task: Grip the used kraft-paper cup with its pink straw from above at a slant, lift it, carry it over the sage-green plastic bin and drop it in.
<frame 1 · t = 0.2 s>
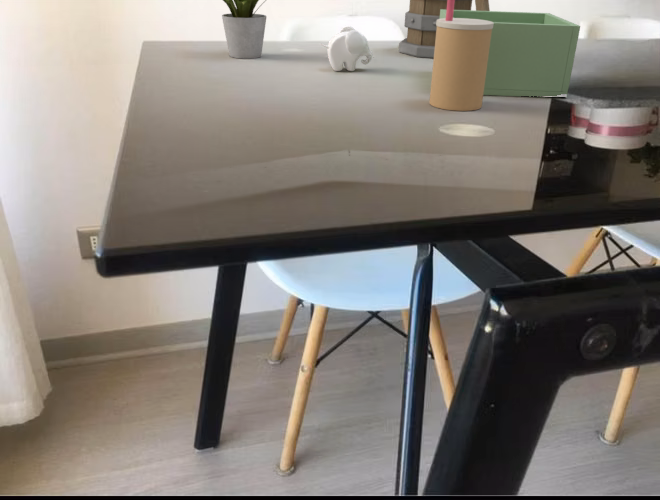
bin: (494, 83, 88), on the table
elephant figurine: (346, 71, 94), on the table
straw cup: (455, 104, 76), on the table
house plant: (250, 58, 102), on the table
tankard: (449, 57, 109), on the table
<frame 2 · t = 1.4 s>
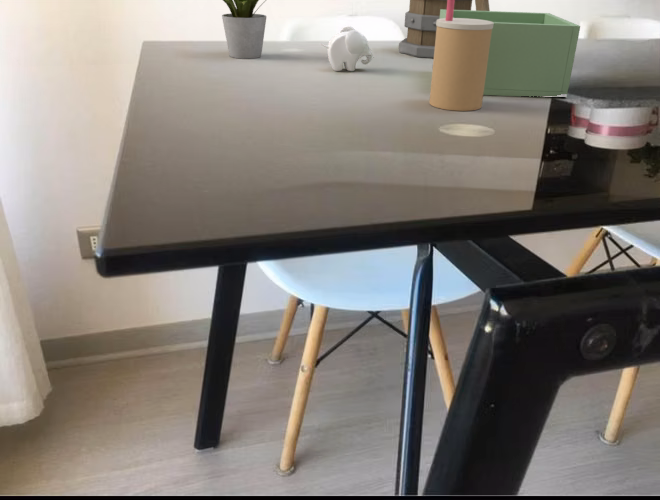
nothing on the table moved.
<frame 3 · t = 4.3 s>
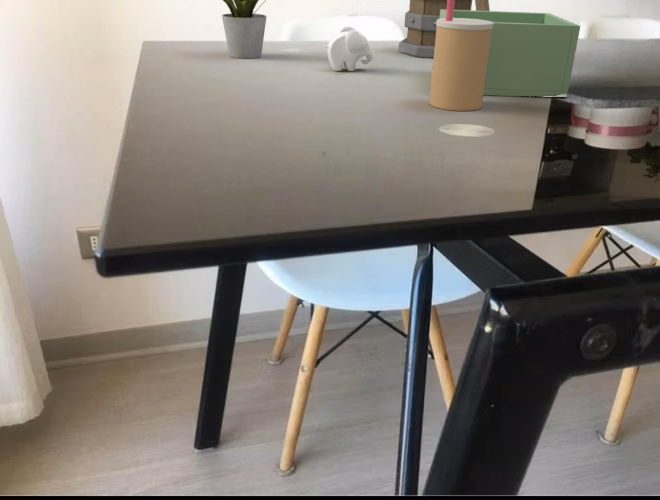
nothing on the table moved.
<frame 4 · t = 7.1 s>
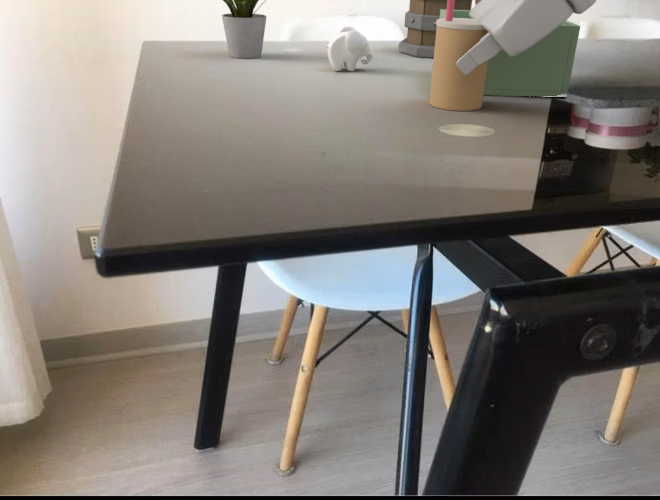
hand: (454, 62, 73), 5 cm above the table, tool tilted 45°, fingers open, 7 cm apart
nothing on the table moved.
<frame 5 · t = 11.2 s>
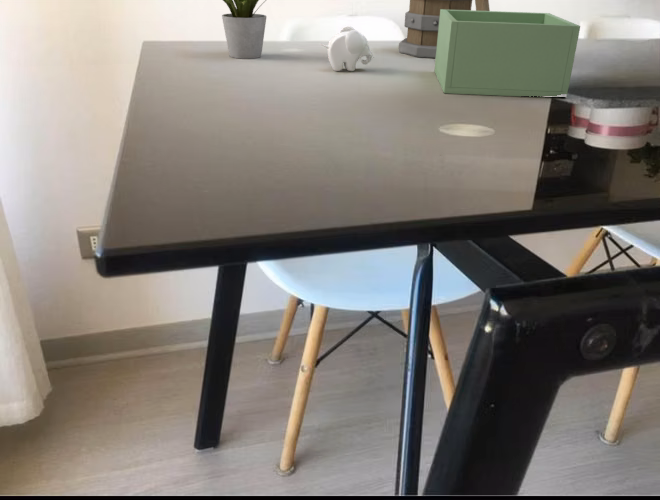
when the fingers open (11 cm above the table, at t = 15.2 s): straw cup drops 5 cm, resting on bin.
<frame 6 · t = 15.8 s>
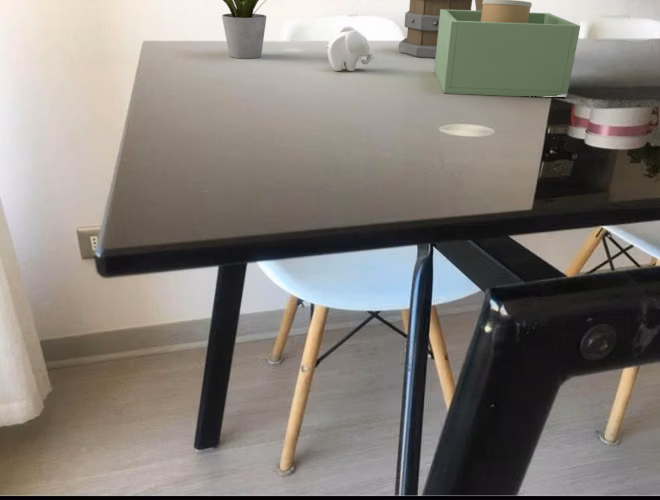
straw cup: (495, 74, 87), point 1 cm above the table, tilted 8°, touching bin
everything else where it was.
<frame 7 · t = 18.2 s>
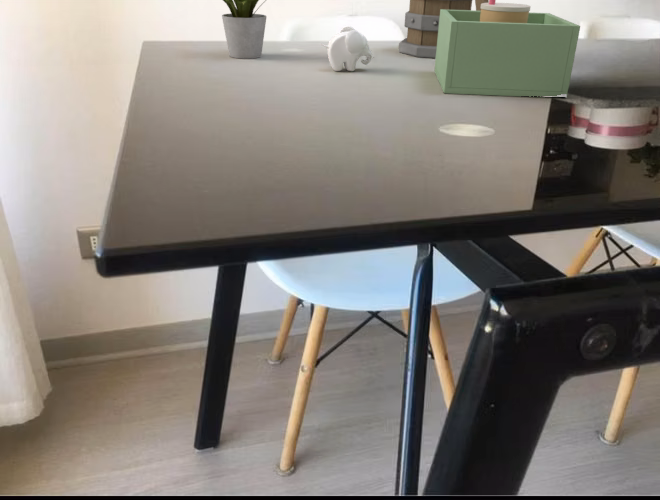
straw cup: (495, 77, 88), point 1 cm above the table, touching bin
everything else where it was.
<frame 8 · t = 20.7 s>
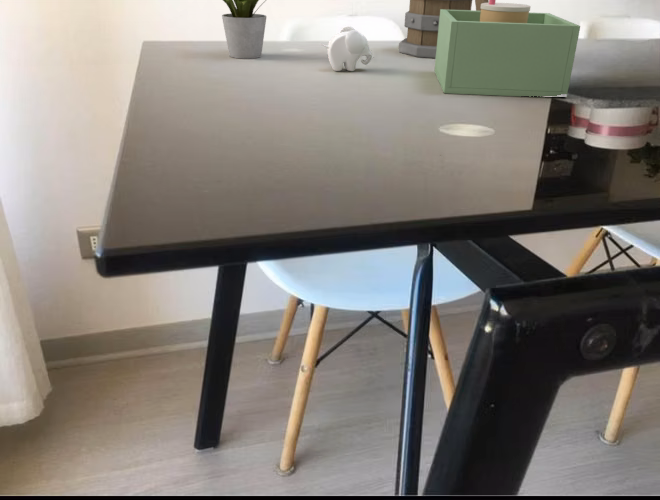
nothing on the table moved.
at the end: straw cup inside the target area in the bin (0.0 cm from its centre), point 0.8 cm above the bin's base; the gripper is holding nothing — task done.
